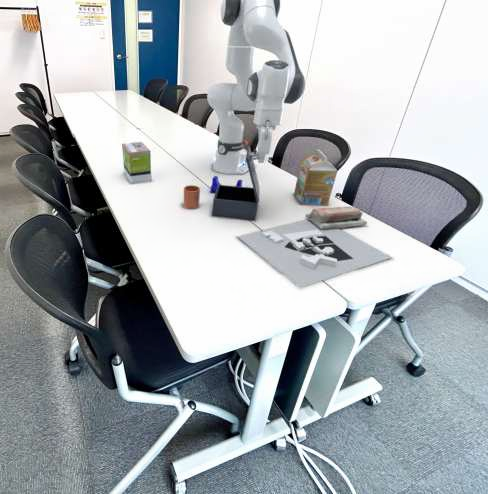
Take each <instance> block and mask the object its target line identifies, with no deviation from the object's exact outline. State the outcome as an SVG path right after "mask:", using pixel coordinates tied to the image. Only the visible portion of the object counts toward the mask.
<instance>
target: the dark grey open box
mask: <svg viewBox="0 0 488 494" xmlns="http://www.w3.org/2000/svg"><path fill="white" fill-rule="evenodd" d="M212 199H213V200H212V201H213V203H212V213H211V216H212V217H219V218H227V219H237V220H245V221H254V222H255V221H256V219H257V218H256V217H257V211H258V206H259V202H258V203H257V201H256V197H255V193H254V189H253V187H249V186H242V187H238V186H236V185H226V184H221V185H218V186H217V189H216V193H214V196H213V198H212Z"/></svg>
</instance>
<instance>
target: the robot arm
mask: <svg viewBox="0 0 488 494" xmlns="http://www.w3.org/2000/svg"><path fill="white" fill-rule="evenodd" d="M280 10H281V0H222V3H221V5H220V17H221V22H222V23H223V24H224V25H225V26H229V27H230V29H229V32H228V33H229V34H228V38H227V39H228V40H227V48H226V58H225V68H226V70H227V71H228V73H230V74H232V75H233V76H234V77H235V79H236V83H234V82H233V83H232V82H219V83H213V84H212V85H211V86H210V87H209V89H208V91H207V94H206V99H207V103H208V105H209V106H210V107H211V108H212V109H213V111H214V112H215V114H216V116H217V119H218V122H219V133H218V140H217V147H216V148H217V149H216V151H215V156H213V160H214V161H213V163H212V166H213V167H212V169H213V170H214V171H215V172H217V173H220V174H227V175H244V174H245V173H247V172H249V169H248V165H247V161H246V154H247V149H245V146H247V145H248V144H249V143H248V140H245V139H244V138H243V137H244V130H245V124H244V122H243V120H241V119H240V118H238V117H237V116H236V115H235V112H234V111H239V112H254V114H253V120H252V121H253V124H255V125H256V129H258V137H257V138H258V140H257V150H256V149H255V150H253V154H257V152H258V153H259V160H257V161H258V162H257V163H259V164H264V163H265V158H266V155H269V154H270V151H271V146H272V140H273V134H274V133H273V131H276V130H277V126H281V125H282V120H283V115H284V110H285V104H288V105H292V104H294V103H295V102H297V101H298V100H299V99H301V97H302V96H303V94H304V93H305V90H306V79H305V76H304V73H303V72H302V70H301V68H300V66H299V63H298V58H297V55H296V52H295V49H294V45H293V42H292V38H291V37H290V36H291V35H290V34H289V32H288V30H286V29H285V28H284V27H283V26H282V25H281V23H280V22H279V20H278V17H279V15H280ZM255 48H256V49H259V50H263V51H266V52H269V53H271V54H273V55H274V56H276V57H277V59H278V60H274V59H273V60H268V61H265V62H264V63H263V65H262V68H261V69H260V70H258V71H255V72H254V69H253V61H254V50H255ZM243 139H244V140H243ZM254 166H255V167H256V164H255V163H254Z"/></svg>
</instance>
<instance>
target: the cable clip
mask: <svg viewBox="0 0 488 494" xmlns="http://www.w3.org/2000/svg"><path fill="white" fill-rule="evenodd" d="M211 180H212V181H211V185H210V194H215V193H216V189H217V186H218V185H222V184H221V183H220V181H219V176H218V175H214V176H213V177H212V179H211ZM235 186H238V187H243V179H237V182H236V184H235Z"/></svg>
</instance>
